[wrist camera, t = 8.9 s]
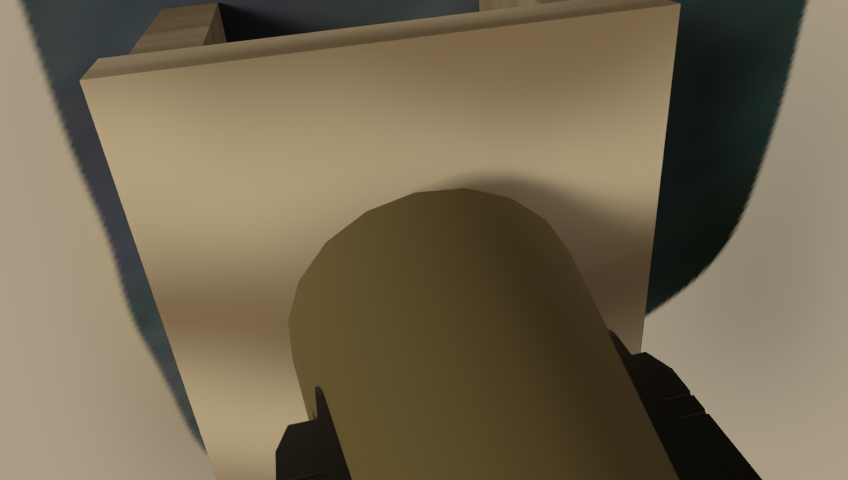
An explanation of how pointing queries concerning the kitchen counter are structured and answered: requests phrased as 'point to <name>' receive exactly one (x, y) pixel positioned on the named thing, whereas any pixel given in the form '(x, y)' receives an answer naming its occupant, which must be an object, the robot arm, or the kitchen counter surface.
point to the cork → (466, 349)
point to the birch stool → (370, 167)
